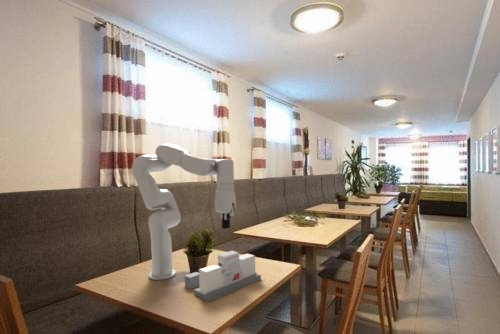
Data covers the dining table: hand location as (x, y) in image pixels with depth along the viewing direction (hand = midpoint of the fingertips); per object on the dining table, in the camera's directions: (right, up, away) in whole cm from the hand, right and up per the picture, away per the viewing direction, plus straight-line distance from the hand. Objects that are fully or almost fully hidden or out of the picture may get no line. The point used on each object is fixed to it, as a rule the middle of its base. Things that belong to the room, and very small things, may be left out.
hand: (226, 228), depth 133 cm
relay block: (-15, -26, +1) cm, 30 cm away
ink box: (+1, -23, -1) cm, 23 cm away
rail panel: (+2, -25, -1) cm, 25 cm away
